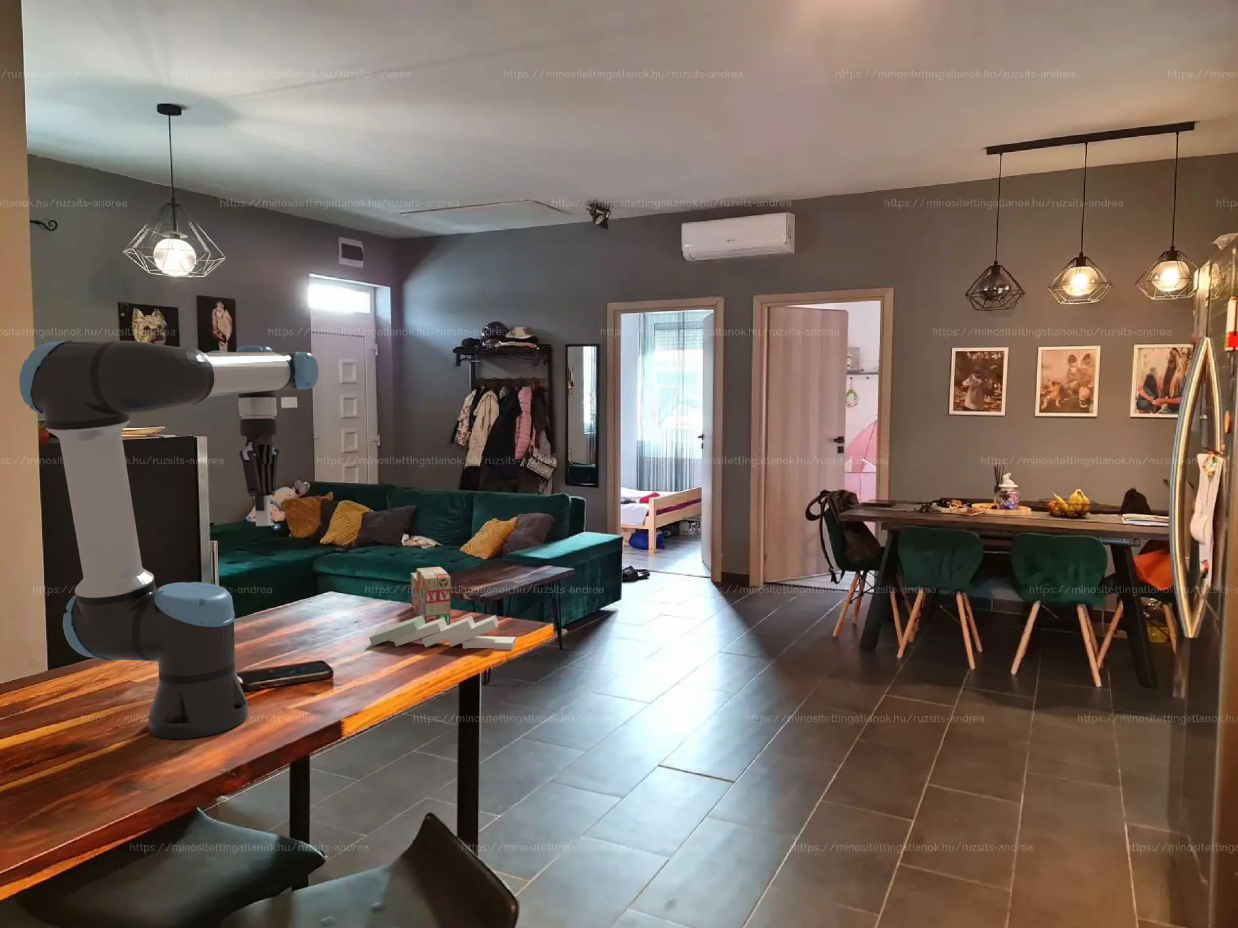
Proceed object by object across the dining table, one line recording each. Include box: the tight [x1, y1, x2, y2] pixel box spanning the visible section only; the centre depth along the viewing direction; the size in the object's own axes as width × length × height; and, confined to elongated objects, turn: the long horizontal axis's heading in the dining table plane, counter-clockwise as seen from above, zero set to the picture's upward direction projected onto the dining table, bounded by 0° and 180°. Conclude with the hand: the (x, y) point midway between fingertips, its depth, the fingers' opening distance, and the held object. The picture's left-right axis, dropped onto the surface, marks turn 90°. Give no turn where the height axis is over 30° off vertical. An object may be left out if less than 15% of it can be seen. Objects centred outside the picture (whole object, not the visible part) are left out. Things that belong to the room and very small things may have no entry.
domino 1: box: [392, 618, 447, 647], centre depth 188 cm, size 2×5×11 cm
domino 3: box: [446, 614, 499, 648], centre depth 187 cm, size 2×5×11 cm
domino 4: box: [462, 635, 517, 651], centre depth 187 cm, size 2×5×11 cm
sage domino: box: [368, 615, 425, 647], centre depth 188 cm, size 2×6×11 cm
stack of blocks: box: [410, 566, 452, 625], centre depth 212 cm, size 21×6×12 cm, turn 23°
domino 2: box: [421, 615, 476, 648], centre depth 187 cm, size 2×5×11 cm
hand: (263, 525), depth 183 cm, fingers closed
